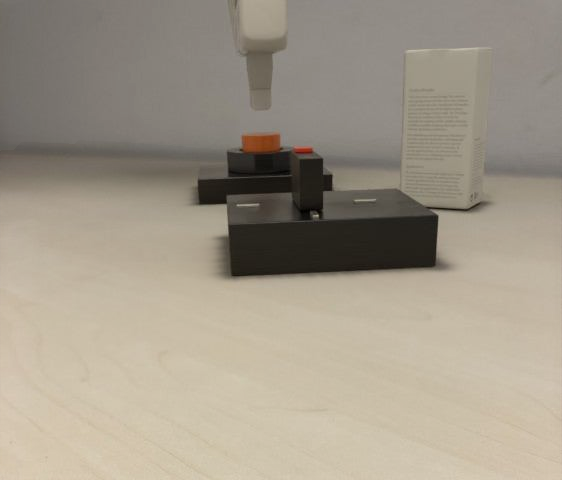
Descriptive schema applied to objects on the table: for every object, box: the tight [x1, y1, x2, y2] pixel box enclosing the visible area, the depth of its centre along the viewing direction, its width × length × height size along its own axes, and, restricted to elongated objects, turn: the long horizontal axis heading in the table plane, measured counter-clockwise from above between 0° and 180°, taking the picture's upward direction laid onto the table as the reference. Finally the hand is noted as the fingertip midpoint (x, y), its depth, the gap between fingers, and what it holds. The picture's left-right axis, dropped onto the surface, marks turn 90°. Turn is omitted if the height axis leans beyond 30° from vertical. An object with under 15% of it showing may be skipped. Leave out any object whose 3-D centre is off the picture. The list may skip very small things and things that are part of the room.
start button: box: [241, 131, 282, 152], centre depth 66 cm, size 4×4×2 cm
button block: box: [197, 145, 333, 205], centre depth 67 cm, size 12×10×4 cm
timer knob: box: [291, 145, 324, 211], centre depth 43 cm, size 5×1×3 cm, turn 5°
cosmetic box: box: [399, 46, 494, 210], centre depth 57 cm, size 6×4×12 cm
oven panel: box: [226, 187, 440, 277], centre depth 45 cm, size 12×10×3 cm
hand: (260, 109), depth 64 cm, fingers closed
